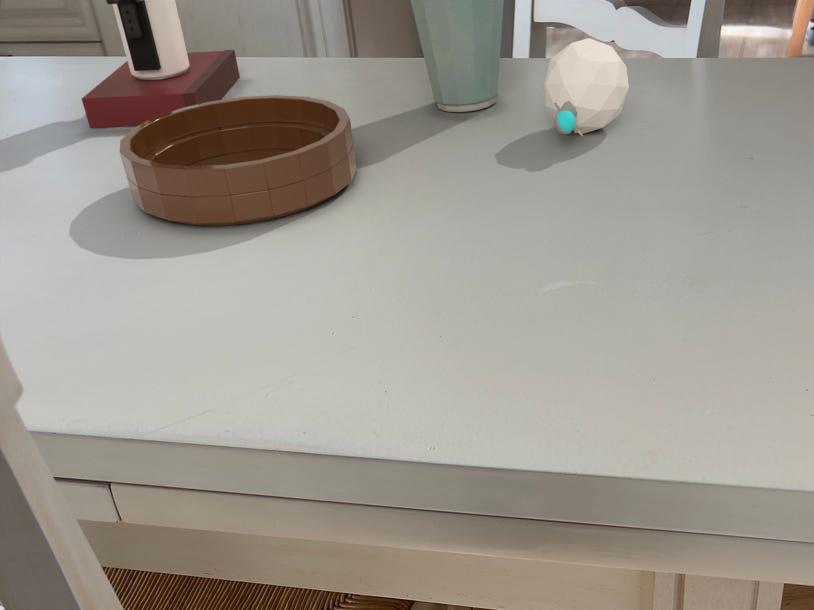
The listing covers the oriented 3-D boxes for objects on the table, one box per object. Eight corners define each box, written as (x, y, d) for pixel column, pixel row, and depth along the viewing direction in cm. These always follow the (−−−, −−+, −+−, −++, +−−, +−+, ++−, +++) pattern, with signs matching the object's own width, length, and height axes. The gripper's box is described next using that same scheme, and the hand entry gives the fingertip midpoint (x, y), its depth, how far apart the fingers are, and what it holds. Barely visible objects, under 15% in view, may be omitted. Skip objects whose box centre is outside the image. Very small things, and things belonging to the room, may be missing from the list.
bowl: (104, 234, 85) (85, 174, 82) (173, 154, 100) (160, 100, 97) (336, 225, 83) (326, 164, 80) (371, 145, 98) (364, 90, 95)
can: (143, 65, 115) (112, -56, 108) (198, 63, 115) (171, -59, 107) (122, 82, 110) (88, -44, 103) (179, 80, 110) (149, -48, 102)
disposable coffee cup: (468, 125, 101) (457, -47, 91) (392, 109, 107) (373, -55, 97) (534, 97, 107) (530, -68, 97) (459, 83, 113) (447, -74, 103)
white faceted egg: (652, 77, 97) (628, 134, 90) (585, 125, 102) (557, 183, 95) (605, 6, 94) (575, 59, 86) (538, 59, 99) (505, 114, 91)
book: (89, 128, 108) (80, 98, 106) (140, 82, 122) (133, 54, 120) (200, 123, 107) (193, 92, 105) (240, 77, 120) (234, 49, 118)
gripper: (95, -195, 89) (164, 84, 104) (161, -210, 104) (214, 36, 119) (13, -189, 90) (94, 87, 105) (91, -205, 105) (152, 39, 119)
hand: (157, 60), depth 112 cm, fingers closed on can, 6 cm apart
